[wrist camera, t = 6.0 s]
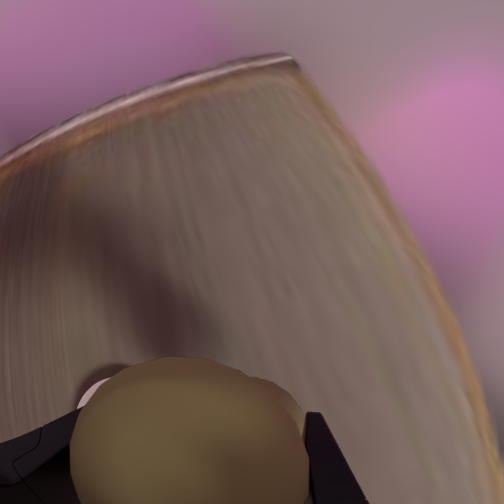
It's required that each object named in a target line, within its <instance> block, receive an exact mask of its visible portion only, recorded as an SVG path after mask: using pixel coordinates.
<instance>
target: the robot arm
mask: <svg viewBox="0 0 504 504" xmlns="http://www.w3.org/2000/svg"><path fill="white" fill-rule="evenodd" d="M84 406H85V405H84ZM84 406H82V407H80V408H78V409H76V410H74V411H72V412H70V413H68V414H66V415H64V416H62V417H60V418H58V419H56V420H54V421H52V422H50V423H48V424H46V425H44V426H43V428H42V427H40V428H38V429H35V430H33V431H31V432H29V433H27V434H24V435H22V436H19V437H17V438H14V439H11V440H9V441H6V442H3V443H0V504H81V503H80V501H79V498H78V495H77V492H76V489H75V486H74V483H73V480H72V476H71V473H70V441H71V438H72V435H73V431H74V428H75V425H76V422H77V418H78V416H79V414H80V412H81V410H82V408H83V407H84ZM302 440H303V443H304V446H305V448H306V451H307V454H308V457H309V494H308V497H307V499H306V502H305V504H369V502H368V500H365V499H366V497H365V495H364V493H363V491H362V489H361V487H360V486H359V484H358V482H357V480H356V478H355V476H354V474H353V472H352V471H351V469H350V467H349V465H348V463H347V461H346V459H345V457H344V456H343V454H342V452H341V450H340V448H339V446H338V444H337V442H336V440H335V438H334V437H333V435H332V433H331V431H330V429H329V427H328V425H327V423H326V421H325V419H324V417H323V416H322V414H321V413H320V412H307V413H306V416H305V422H304V427H303V433H302Z"/></svg>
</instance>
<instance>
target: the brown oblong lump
mask: <svg viewBox="0 0 504 504" xmlns="http://www.w3.org/2000/svg"><path fill="white" fill-rule="evenodd" d="M304 422H305V418H304V415H303V413H302V410H301V407H300V406H299V405H298V404H297V402H296V401H295V400H294V399H293V397H292V396H291V395H290V394H289V393H288V392H287V391H285V390H284V389H282V388H281V387H279V386H278V385H276V384H275V383H273V382H270V381H267V380H264V379H260V378H257V377H249V376H247V375H246V374H244V373H243V372H242V371H240V370H238V369H235V368H231V367H228V366H225V365H222V364H219V363H216V362H214V361H211V360H208V359H205V358H187V357H164V358H159V359H156V360H152V361H148V362H145V363H141V364H137V365H133V366H130V367H126V368H124V369H123V370H122V371H120V372H119V373H117V374H116V375H114V376H113V377H111V378H110V379H108V380H107V381H105V382H104V383H102V384H101V385H100V386H99V387H98V388H97V390H96V391H95V392H94V394H93V395H92V396H91V398H90V399H89V400H88V402H87V403H86V404H85V406H84V407H83V408H82V410H81V412H80V414H79V416H78V418H77V422H76V425H75V428H74V431H73V435H72V438H71V441H70V473H71V476H72V480H73V483H74V486H75V489H76V492H77V495H78V498H79V501H80V503H81V504H305V502H306V499H307V497H308V494H309V457H308V454H307V451H306V448H305V446H304V443H303V440H302V433H303V427H304Z"/></svg>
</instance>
